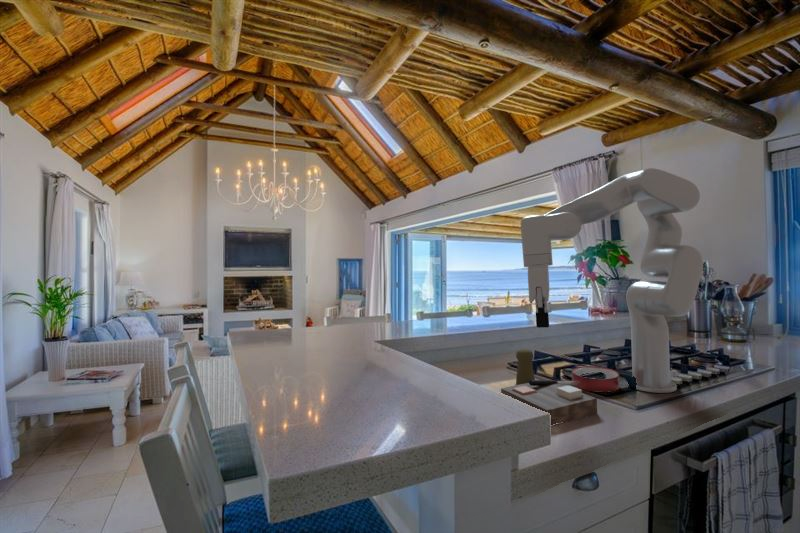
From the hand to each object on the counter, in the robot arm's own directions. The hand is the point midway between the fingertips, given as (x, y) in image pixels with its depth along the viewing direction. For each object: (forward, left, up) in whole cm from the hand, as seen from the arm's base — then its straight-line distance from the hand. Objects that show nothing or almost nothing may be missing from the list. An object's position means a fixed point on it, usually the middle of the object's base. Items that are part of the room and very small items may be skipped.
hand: (542, 326), depth 109 cm
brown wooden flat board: (+3, +3, -21) cm, 22 cm away
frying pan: (-13, -2, -21) cm, 25 cm away
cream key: (-1, +7, -18) cm, 20 cm away
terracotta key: (+7, -1, -19) cm, 21 cm away
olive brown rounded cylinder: (-5, -15, -21) cm, 27 cm away
